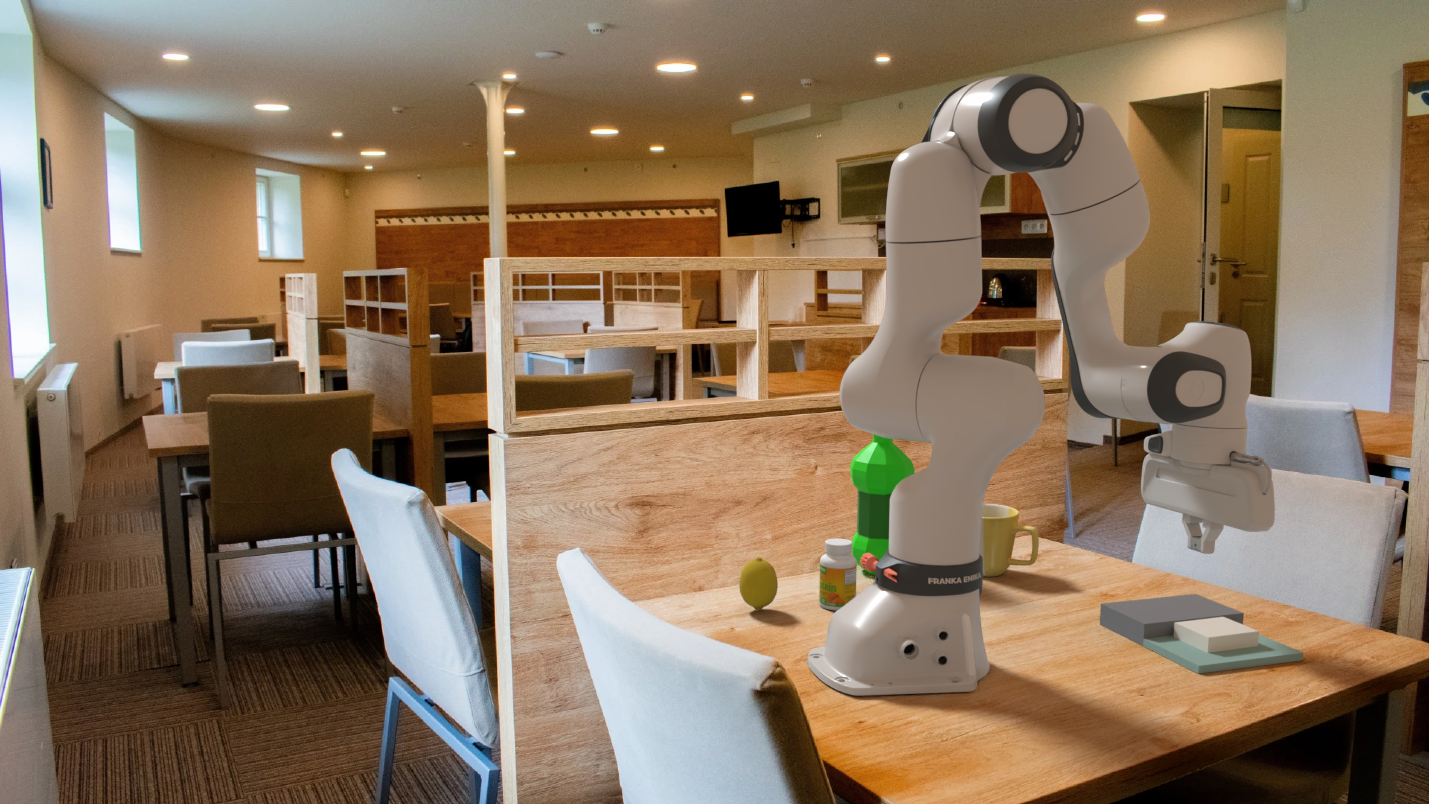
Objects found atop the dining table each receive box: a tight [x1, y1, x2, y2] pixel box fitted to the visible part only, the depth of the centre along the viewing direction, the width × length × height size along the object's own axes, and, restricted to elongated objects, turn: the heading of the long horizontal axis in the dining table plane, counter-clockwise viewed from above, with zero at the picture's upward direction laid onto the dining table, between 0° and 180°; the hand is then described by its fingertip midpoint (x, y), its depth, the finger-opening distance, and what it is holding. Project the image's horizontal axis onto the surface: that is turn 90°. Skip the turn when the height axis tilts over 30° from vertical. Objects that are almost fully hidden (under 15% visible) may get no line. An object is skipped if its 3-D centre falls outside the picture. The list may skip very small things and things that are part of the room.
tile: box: [1174, 617, 1260, 653], centre depth 135 cm, size 8×6×2 cm
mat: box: [1142, 633, 1304, 675], centre depth 134 cm, size 16×10×1 cm, turn 106°
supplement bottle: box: [818, 537, 858, 612], centre depth 153 cm, size 5×5×10 cm
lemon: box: [738, 556, 778, 612], centre depth 151 cm, size 6×6×8 cm
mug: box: [980, 503, 1040, 577], centre depth 169 cm, size 14×10×10 cm
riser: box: [1099, 593, 1245, 647], centre depth 143 cm, size 16×9×3 cm, turn 106°
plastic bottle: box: [849, 434, 916, 576], centre depth 170 cm, size 10×10×25 cm
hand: (1200, 551), depth 136 cm, fingers closed
